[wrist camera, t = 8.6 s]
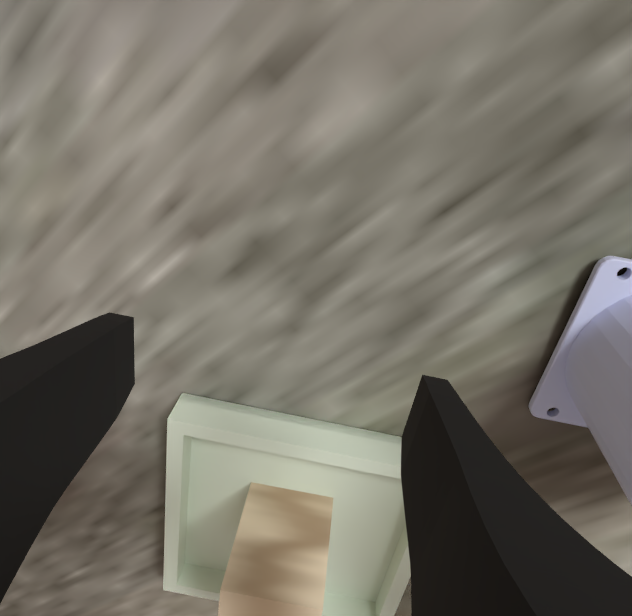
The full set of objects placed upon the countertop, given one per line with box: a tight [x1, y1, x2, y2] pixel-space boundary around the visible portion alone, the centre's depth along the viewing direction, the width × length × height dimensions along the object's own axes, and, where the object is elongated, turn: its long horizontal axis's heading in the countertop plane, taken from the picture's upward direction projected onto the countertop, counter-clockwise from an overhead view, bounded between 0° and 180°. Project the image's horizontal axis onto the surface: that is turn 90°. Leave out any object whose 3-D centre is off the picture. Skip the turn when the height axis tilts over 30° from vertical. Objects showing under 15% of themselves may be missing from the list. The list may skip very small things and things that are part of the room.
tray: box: [163, 393, 411, 616], centre depth 27 cm, size 14×14×2 cm
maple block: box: [218, 482, 333, 616], centre depth 25 cm, size 4×4×6 cm
